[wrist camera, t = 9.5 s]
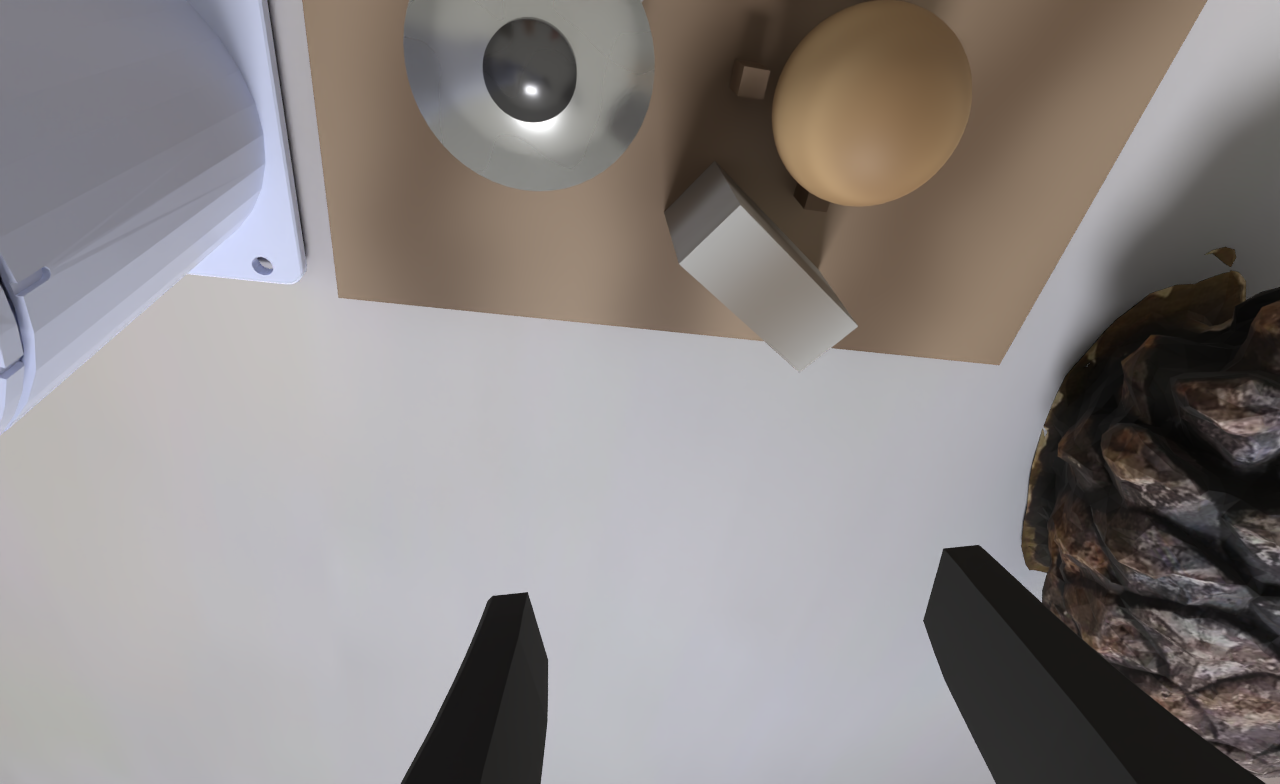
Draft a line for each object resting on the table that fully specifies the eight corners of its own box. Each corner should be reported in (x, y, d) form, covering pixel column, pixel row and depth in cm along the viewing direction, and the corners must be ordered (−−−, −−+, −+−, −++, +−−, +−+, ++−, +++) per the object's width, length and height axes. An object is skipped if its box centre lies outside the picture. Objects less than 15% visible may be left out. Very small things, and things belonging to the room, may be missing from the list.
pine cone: (1307, 186, 19) (1854, 377, 11) (1228, 546, 29) (1481, 786, 21) (953, 317, 21) (1194, 567, 13) (994, 614, 31) (1143, 860, 23)
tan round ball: (736, 163, 16) (775, 221, 13) (780, -24, 14) (841, -10, 11) (883, 184, 17) (955, 245, 14) (949, 9, 14) (1055, 31, 11)
